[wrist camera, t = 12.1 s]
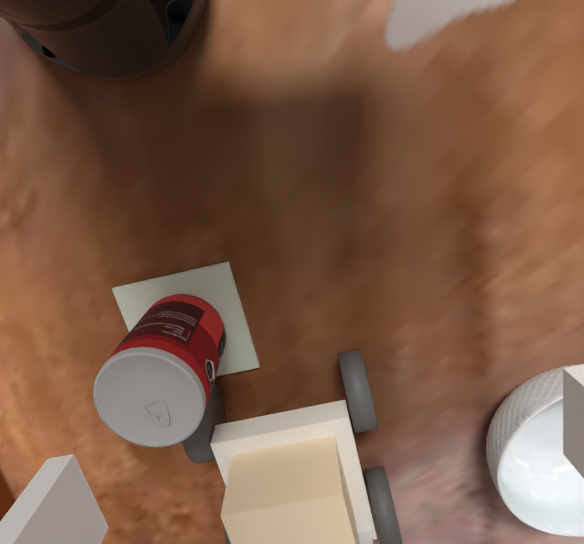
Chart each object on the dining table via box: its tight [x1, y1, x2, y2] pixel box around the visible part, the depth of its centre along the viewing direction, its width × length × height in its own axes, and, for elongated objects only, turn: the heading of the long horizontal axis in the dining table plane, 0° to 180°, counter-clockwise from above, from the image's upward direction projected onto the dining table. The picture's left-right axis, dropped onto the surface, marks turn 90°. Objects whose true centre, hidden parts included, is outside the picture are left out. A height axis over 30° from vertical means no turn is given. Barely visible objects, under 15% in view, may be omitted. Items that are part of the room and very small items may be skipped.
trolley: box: [183, 349, 402, 544], centre depth 33 cm, size 21×16×21 cm
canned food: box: [93, 294, 226, 447], centre depth 34 cm, size 8×8×11 cm
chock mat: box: [112, 261, 260, 376], centre depth 39 cm, size 11×11×1 cm
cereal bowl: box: [486, 364, 584, 537], centre depth 39 cm, size 17×17×7 cm
